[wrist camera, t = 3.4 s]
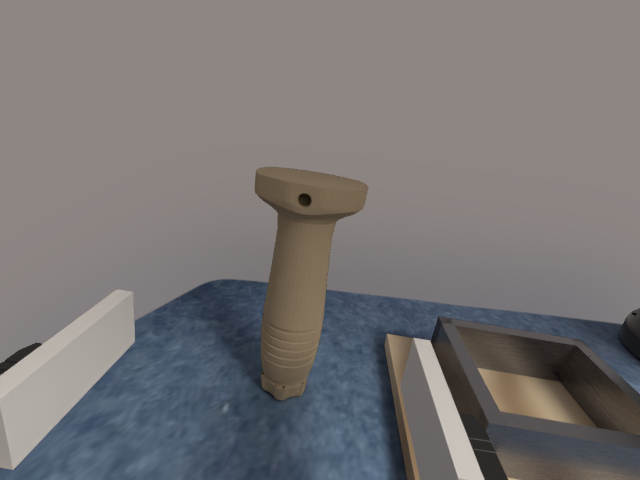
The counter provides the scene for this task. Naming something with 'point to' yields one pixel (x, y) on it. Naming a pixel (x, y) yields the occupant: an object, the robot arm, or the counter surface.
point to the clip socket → (537, 433)
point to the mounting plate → (504, 388)
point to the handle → (299, 269)
